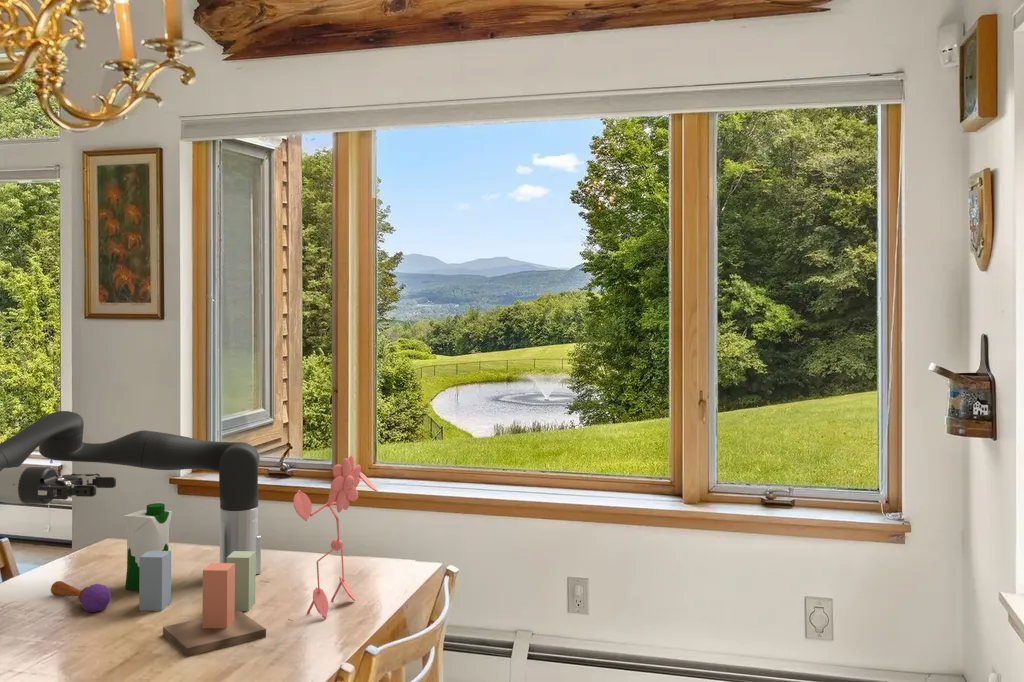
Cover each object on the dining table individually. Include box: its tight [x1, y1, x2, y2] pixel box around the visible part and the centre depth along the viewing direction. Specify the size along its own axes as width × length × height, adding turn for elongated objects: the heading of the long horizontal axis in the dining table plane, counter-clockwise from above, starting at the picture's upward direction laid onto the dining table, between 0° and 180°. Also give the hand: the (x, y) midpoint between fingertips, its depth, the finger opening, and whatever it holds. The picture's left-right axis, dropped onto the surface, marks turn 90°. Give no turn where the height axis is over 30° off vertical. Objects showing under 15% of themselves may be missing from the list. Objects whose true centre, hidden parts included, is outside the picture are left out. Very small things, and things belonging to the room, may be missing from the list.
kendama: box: [50, 580, 112, 613], centre depth 187 cm, size 6×6×20 cm
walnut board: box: [162, 610, 267, 657], centre depth 170 cm, size 16×14×2 cm
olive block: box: [227, 551, 257, 612], centre depth 187 cm, size 5×5×12 cm
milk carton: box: [123, 502, 173, 592], centre depth 199 cm, size 9×9×20 cm
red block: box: [201, 562, 235, 628], centre depth 172 cm, size 5×5×12 cm
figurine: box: [287, 454, 378, 622], centre depth 184 cm, size 15×26×35 cm, turn 157°
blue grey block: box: [138, 550, 172, 611], centre depth 186 cm, size 5×5×12 cm
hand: (105, 486), depth 171 cm, fingers open, 8 cm apart
